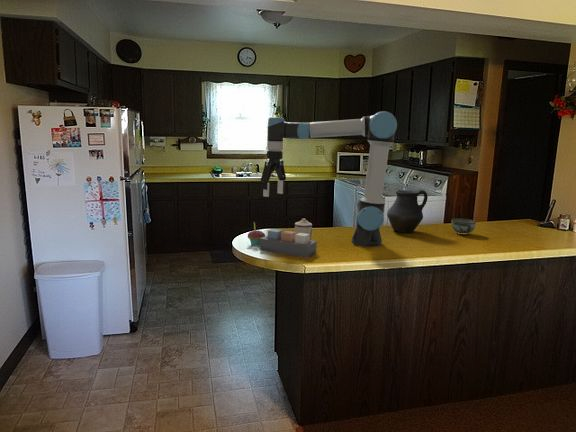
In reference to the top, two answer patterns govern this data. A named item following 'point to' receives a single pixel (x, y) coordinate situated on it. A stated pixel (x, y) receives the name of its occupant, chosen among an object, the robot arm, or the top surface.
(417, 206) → the pitcher
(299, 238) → the key ivory
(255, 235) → the cupcake
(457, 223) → the bowl
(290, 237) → the orange cube
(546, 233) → the top surface
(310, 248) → the tray
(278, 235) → the blue cube
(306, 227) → the teacup with lid
